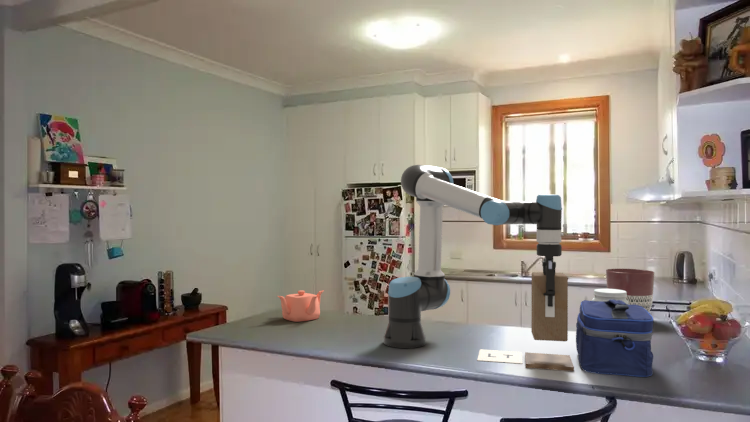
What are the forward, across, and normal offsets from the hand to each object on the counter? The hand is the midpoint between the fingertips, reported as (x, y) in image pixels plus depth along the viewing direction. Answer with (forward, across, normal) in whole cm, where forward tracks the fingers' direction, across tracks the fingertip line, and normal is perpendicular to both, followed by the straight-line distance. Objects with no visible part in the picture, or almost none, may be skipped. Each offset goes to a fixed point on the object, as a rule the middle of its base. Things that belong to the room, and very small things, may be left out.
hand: (548, 313), depth 174 cm
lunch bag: (+16, +5, -20) cm, 26 cm away
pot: (+16, +44, +101) cm, 111 cm away
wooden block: (+8, 0, 0) cm, 8 cm away
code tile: (+16, +4, +15) cm, 22 cm away
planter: (+16, +83, -39) cm, 93 cm away
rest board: (+16, 0, 0) cm, 16 cm away
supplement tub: (+16, +39, -24) cm, 49 cm away
